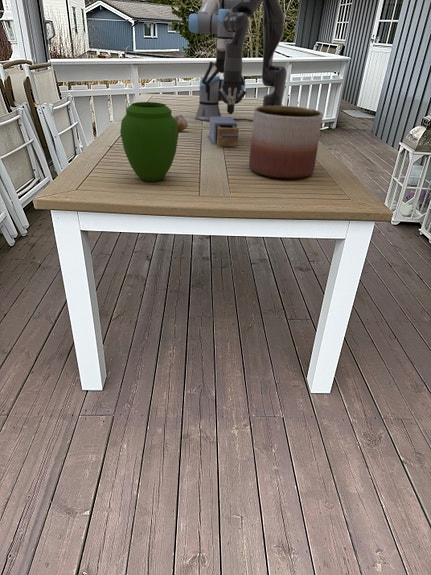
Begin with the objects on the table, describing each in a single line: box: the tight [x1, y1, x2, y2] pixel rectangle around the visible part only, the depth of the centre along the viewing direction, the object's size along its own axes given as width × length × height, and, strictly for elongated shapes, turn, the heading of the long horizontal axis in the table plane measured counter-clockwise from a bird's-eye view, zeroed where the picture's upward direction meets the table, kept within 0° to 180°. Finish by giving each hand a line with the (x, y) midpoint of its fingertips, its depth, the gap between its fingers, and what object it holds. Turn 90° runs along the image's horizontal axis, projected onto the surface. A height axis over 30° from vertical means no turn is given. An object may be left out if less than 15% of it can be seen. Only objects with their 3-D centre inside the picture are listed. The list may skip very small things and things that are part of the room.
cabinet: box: [208, 116, 238, 145], centre depth 200 cm, size 16×11×10 cm
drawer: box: [216, 125, 240, 147], centre depth 192 cm, size 20×10×8 cm, turn 9°
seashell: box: [173, 114, 189, 132], centre depth 214 cm, size 10×6×8 cm, turn 97°
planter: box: [248, 105, 324, 180], centre depth 156 cm, size 25×25×22 cm
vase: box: [119, 101, 179, 182], centre depth 140 cm, size 20×20×24 cm
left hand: (222, 100), depth 197 cm, fingers open, 13 cm apart
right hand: (230, 113), depth 180 cm, fingers closed
